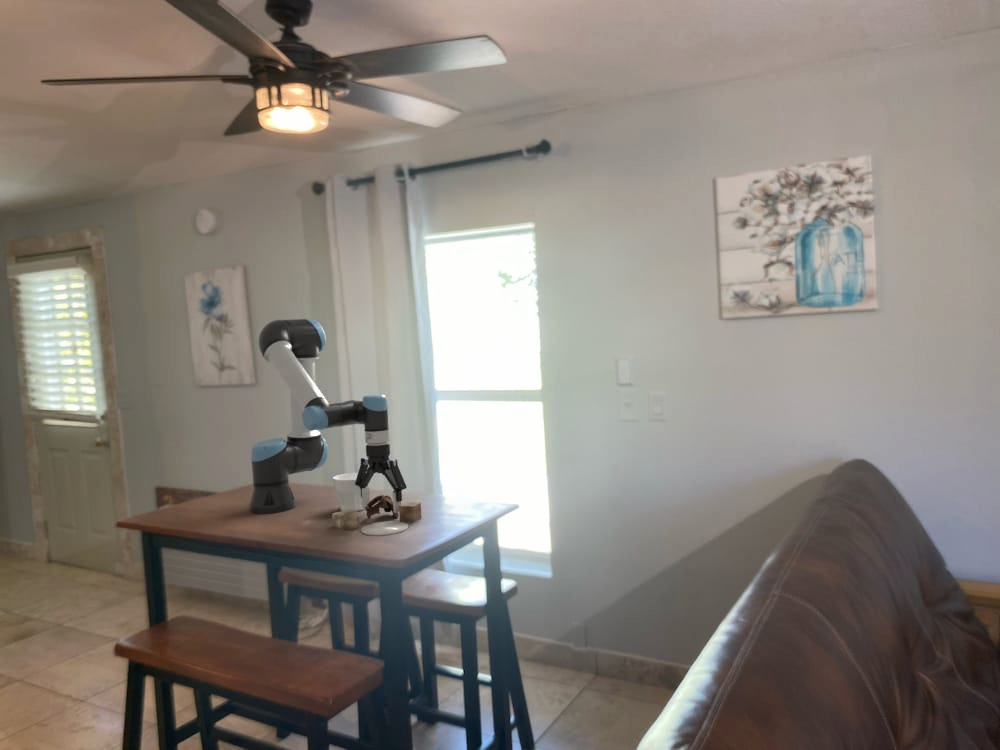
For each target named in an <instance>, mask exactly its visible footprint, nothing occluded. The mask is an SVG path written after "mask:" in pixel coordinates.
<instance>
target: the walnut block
mask: <svg viewBox="0 0 1000 750" xmlns="http://www.w3.org/2000/svg"><path fill="white" fill-rule="evenodd" d="M421 504H422V503H421V502H416V501H415V502H413V501H406V502H404V503H401V505H400V506H399V512H398V514H399V522H404V523H415V522H417V521H419V520H421V519H422V505H421Z"/></svg>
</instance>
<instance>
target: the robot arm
mask: <svg viewBox="0 0 1000 750" xmlns="http://www.w3.org/2000/svg"><path fill="white" fill-rule="evenodd" d="M326 340H327V337H326V333H325V331H324V328H323V326H322V325H321V324H320V322H319V321H317V320H315V319H309V318H299V319H297V318H295V319H276V320H272V321H270V322H268V323H267V324H266V325H265V326H264V327H263V328H262V329H261V331H260V333H259V337H258V349H259V352H260V353H261V356H262V357H263V359H264V360H265V361H266V363H269V364H272V366H273V367H274V369H275V370H276V372H277V373H278V374H279V375H278V376H280V378H281V379H282V380H283V382H284V383H285V385H286V386H287V388H288V389H289V391H290V393H289V395H290V424H291V425H290V427H291V429H290V430H289V432H288V433H287V434H286V438H282V437H278V438H277V437H276V438H272V439H271V438H270V439H266V440H262V441H259V442H257V443H255V444H254V445H253V446H252V447H251V454H250V455H251V456H250V460H251V469H252V472H251V473H252V481H253V482H252V484H253V489H252V494H251V497H250V501H249V505H248V506H249V512H250V513H254V514H275V513H281V512H284V511H288V510H292V509H293V508H295V507H296V499H295V496H294V493H293V491H292V489H291V487H290V484H289V483H290V482H289V481H290V480H289V475H293V474H297V473H304V472H312V471H314V470H317V469H320V468H322V467H323V466H324V465H325V464H326V462H327V460H328V455H329V446H328V444H327V441H326V439H325V437H323V436H321V435H322V434H321V432H320V431H323V430H325V429H326V430H327V429H330V428H331V429H332V428H337V427H345V426H351V425H363V426H364V440H365V444H366V445H365V454H366V455H365V457H361V458H360V465H359V466H360V467H359V470H358V472H357V473H358V475H357V479H356V482H355V485H356V486H359V487H360V490H361V498H362V504H363V510H365V507H366V506H367V504H368V503H369V502H370V501H371V496H370V495H371V493H370V486H369V487H367V485H368V483H369V482H371V480H372V478H373V477H374V476H375V475H374V474H382V475H383V476H384V477H385V478H386V480H387V482H388V483H389V485H390V487H391V488H392V489H393V491H392V493H391V494H392V501H393V508H394V513H396V512H398V513H399V506H400V505H402V501H403V493H402V491H403V490H405V489H407V484H406V481H405V480H404V476H403V475H402V473H401V470H400V467H399V465H398V464H399V463H398V460H397V459H396V458H394V459H390V454H391V445H390V443H389V442H390V431H389V429H390V428H389V413H388V412H389V411H388V409H389V407H388V401H387V396H386V395H384V394H369V395H363V397H362V400H354V399H352V400H345V401H343V402H336V403H335V402H334V403H329V402H328V400H327V399H326V398H325V396H324V395H323V394H322V392H321V391H320V389H319V388H318V386H317V384H316V361H318V359H319V358H320V352H323V350H324V348H325V346H326V343H327V341H326ZM367 507H368V506H367Z"/></svg>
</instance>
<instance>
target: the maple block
mask: <svg viewBox="0 0 1000 750" xmlns="http://www.w3.org/2000/svg"><path fill="white" fill-rule="evenodd" d="M346 511H351V510H345V511H342V510H340V511H338V512H334V513H332V527H336V528H337V529H338V528H339V529H342V528H345V523H344V512H346Z"/></svg>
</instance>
